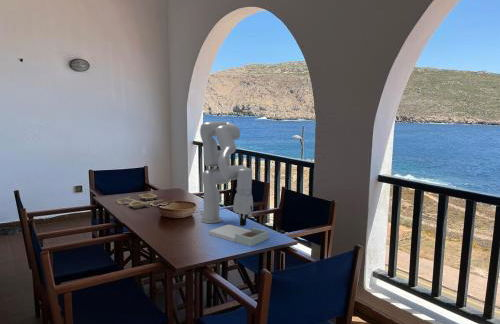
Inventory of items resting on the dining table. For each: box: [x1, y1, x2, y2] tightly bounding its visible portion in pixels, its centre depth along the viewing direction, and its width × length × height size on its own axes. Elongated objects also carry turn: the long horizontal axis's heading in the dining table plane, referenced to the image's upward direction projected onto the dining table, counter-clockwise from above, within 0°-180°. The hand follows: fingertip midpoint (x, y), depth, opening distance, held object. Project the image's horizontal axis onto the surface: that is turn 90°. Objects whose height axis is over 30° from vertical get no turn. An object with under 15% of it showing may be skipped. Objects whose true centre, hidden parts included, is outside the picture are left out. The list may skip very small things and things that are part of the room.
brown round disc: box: [242, 232, 259, 238], centre depth 196 cm, size 7×7×3 cm
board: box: [208, 224, 252, 243], centre depth 203 cm, size 18×16×2 cm
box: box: [234, 227, 270, 247], centre depth 194 cm, size 10×15×4 cm
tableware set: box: [115, 192, 164, 209], centre depth 267 cm, size 35×29×4 cm
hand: (242, 225), depth 198 cm, fingers closed
